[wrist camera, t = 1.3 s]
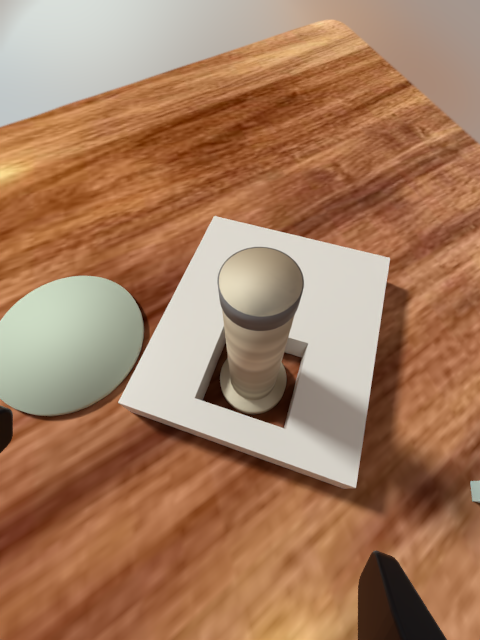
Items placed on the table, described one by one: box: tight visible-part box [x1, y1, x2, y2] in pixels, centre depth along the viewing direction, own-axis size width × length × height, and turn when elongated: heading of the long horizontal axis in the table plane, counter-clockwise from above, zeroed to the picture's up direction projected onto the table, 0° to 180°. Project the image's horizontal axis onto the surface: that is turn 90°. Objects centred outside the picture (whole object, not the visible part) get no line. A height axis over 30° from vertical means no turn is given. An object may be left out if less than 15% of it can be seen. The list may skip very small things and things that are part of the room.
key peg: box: [217, 247, 304, 414], centre depth 17 cm, size 4×4×12 cm
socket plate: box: [118, 216, 390, 489], centre depth 23 cm, size 16×14×2 cm
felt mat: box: [0, 276, 144, 416], centre depth 24 cm, size 11×11×1 cm
